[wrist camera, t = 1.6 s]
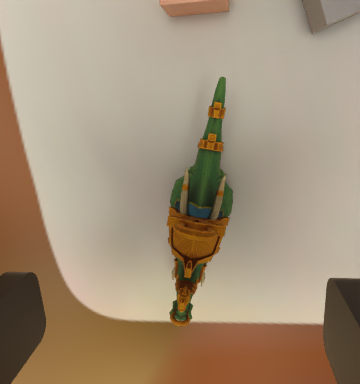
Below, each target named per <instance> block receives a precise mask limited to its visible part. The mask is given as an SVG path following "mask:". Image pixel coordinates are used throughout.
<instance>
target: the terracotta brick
mask: <svg viewBox="0 0 360 384" xmlns="http://www.w3.org/2000/svg"><path fill="white" fill-rule="evenodd" d="M160 6H161V7H162V8H163V9H164V10H165V11H166V13H167V14H168V15H169V16H181V15H192V14H204V13H215V12H226V11H229V0H160Z"/></svg>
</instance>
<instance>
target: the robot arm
mask: <svg viewBox="0 0 360 384" xmlns="http://www.w3.org/2000/svg"><path fill="white" fill-rule="evenodd" d="M45 327H46V317H45V312H44V307H43V302H42V297H41V292H40V287H39V282H38V278H37V276H36V275H35V274H34V273H31V272H5V273H3V274H2V275H1V276H0V384H11V383H12V381H13V380H14V378H15V377H16V376H17V374H18V373H19V371H20V370H21V368H22V367H23V365H24V364H25V363H26V361H27V360H28V359H29V357H30V356H31V354H32V353H33V352H34V350H35V349H36V347H37V346H38V344H39V343H40V342H41V340H42V338H43V335H44V332H45ZM323 338H324V346H325V350H326V354H327V357H328V360H329V362H330V365H331V368H332V370H333V373H334V376H335V378H336V381H337V384H360V279H352V278H330V279H329V280H328V282H327V289H326V301H325V313H324V326H323Z"/></svg>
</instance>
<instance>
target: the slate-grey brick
mask: <svg viewBox="0 0 360 384" xmlns="http://www.w3.org/2000/svg"><path fill="white" fill-rule="evenodd" d="M302 2H303V6H304V9H305V12H306V15H307V19H308V22H309V25H310V29H311V32H312V34H313V33H315V32H317V31H320V30H322V29H324V28H326V27H328V26H331V25H333V24H335V23H337V22H340V21H342V20H344V19H346V18H349V17H351V16H353V15H355V14H357V13H360V0H302Z"/></svg>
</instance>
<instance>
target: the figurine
mask: <svg viewBox="0 0 360 384" xmlns="http://www.w3.org/2000/svg"><path fill="white" fill-rule="evenodd" d="M225 85H226V78H224V77H220V79H219V82H218V84H217V87H216V90H215V94H214V98H213V102H212V106H209V112H208V116H209V120H208V124H207V127H206V130H205V133H204V136H203V138H202V139H200V142H199V144H198V148H199V151H198V155H197V159H196V163H195V165H194V166H193V167H190V169H189V170H188V169H187V166H186V172H185V176H183V177H181V178H180V179H178V180H176V182H175V185H174V187H173V190H172V194H171V200H170V203H171V207H169V215H170V216H168V222H167V226H169V238H168V243H169V244H170V246H171V249H172V254H173V255H174V256H175V258H176V259H174V260H175V267H174V269H173V271H172V278H173V279H174V277H175V278H176V283H175V287H176V291H177V300H176V301H173V309H172V310H171V312H170V319H171V321H172V322H173V323H174V324H175V325H177V326H184V325H187V324H188V323H189V322H190V319H192V315H191V310H192V308H193V305H192V304H191V303H190V301H191V299H192V296H193V294H195V292H196V289H197V284H198V283H200V281H201V286H202V284H203V282H204V279H205V273H204V270H205V268H206V266H207V265H206V263H208V262H209V261H211V259H212V257H213V255H215V254H216V253H218V251H219V250H220V247H219V245H220V243H221V240H222V238H223V236H224V234H225V230H226V226H227V225H228V221H229V218H228V216H229V215H230V213H231V209H232V203H233V190H232V189H231V188H230V187H229V186H228V185H227V184H226V181H225V179H226V174H224V172H223V171H222V170H221V169H220V159H221V152H222V151H223V142H221V129H222V119H224V114H225V110H226V109H225V108H224V101H225ZM177 319H178V320H179V321H178V320H177ZM182 320H184V321H182Z"/></svg>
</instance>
